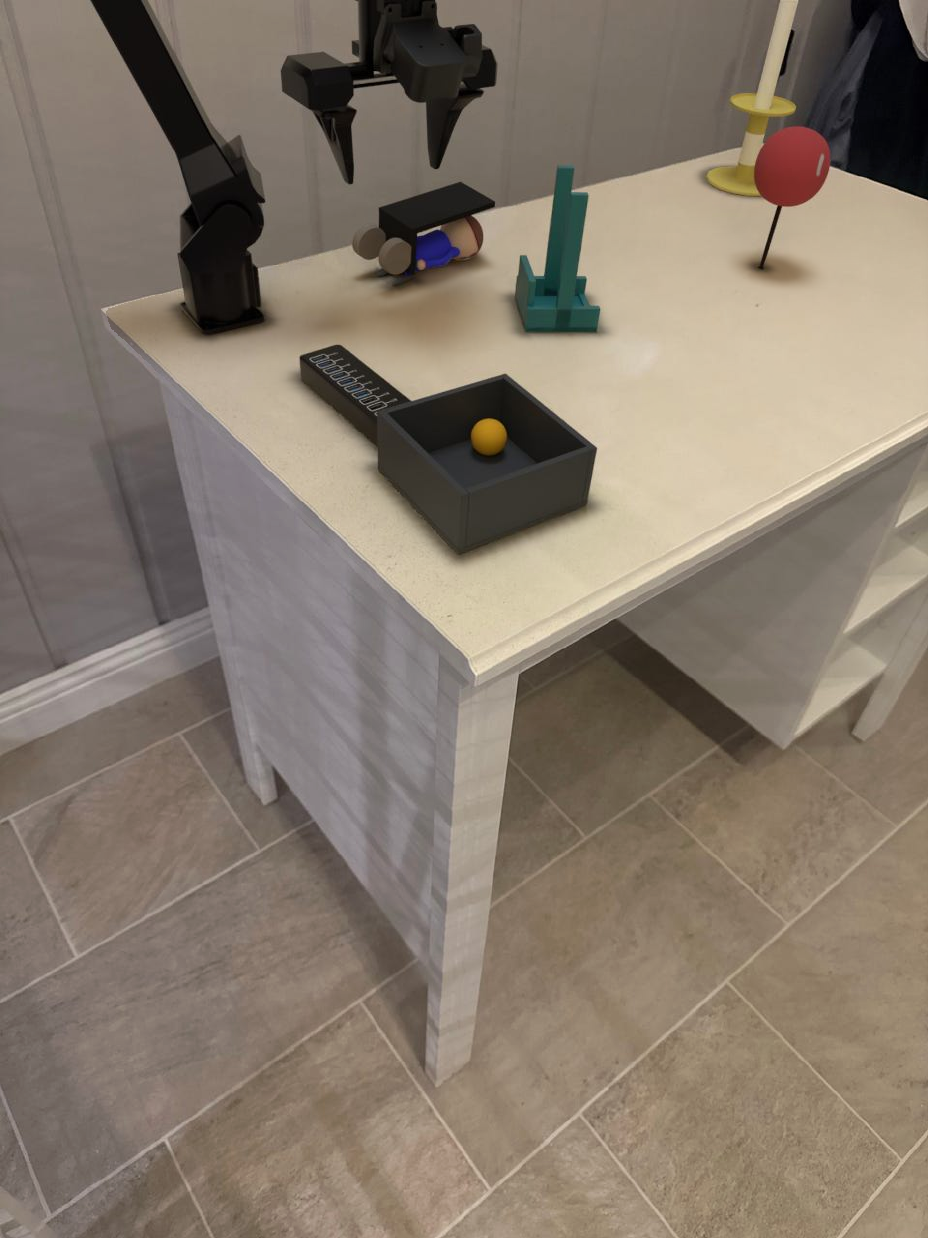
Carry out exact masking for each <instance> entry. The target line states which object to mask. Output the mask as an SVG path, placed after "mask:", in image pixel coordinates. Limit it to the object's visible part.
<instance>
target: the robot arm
mask: <svg viewBox="0 0 928 1238" xmlns="http://www.w3.org/2000/svg"><path fill="white" fill-rule="evenodd" d="M89 1H90V3H91V4H92V6H93V8H94V10H95V11H96V13H97V15H98V17H99V19H100V21H101V23H102V24H103V26H104V27H105V30H106V32H107V33H108V35H109V37H110V39H111V41H112V42H113V44H114V46H115V47H116V49H117V51H118V53H119V55H120V56H121V58H122V60H123V62H124V63H125V66H126V67H127V69H128V70H129V73H130V74H131V77H132V78H133V80H134V82H135V83H136V85H137V86H138V90H140V92H141V94H142V96H143V98H144V99H145V101H146V103H147V105H148V107H149V108H150V110H151V112H152V114H153V116H154V117H155V119H156V121H157V123H158V125H159V126H160V128H161V130H162V132H163V134H164V136H165V137H166V139H167V142H169V145H170V146H171V149H172V150H173V152H174V154H175V156H176V159H177V163H178V166H179V169H180V172H181V175H182V179H183V182H184V185H185V188H186V191H187V195H188V198H189V201H190V203H189V204H188V205H187V206H186V208H185V209H184V210H183V211H182V212H181V214H180V215H179V252H177V253H176V255H177V261H178V267H179V273H180V279H181V284H182V290H183V297H184V301H182V302H180V304H179V306H180V310H181V311H182V312H183V313H184V315H186V316H187V318H189V320H190V321H191V322H192V323H193V324H194V325H195V326H196V328H197V329H198V330H199V331H200V333H201V334H203V335H211V334H215V333H218V332H223V331H228V330H232V329H236V328H240V327H244V326H249V325H253V324H258V323H262V322H264V321H266V316H265V313H263V312H262V310H261V309H260V308H261V307H262V305H263V303H262V302H263V301H262V294H261V283H260V275H259V267H258V266H256V264H254V262H253V256H252V252H250V250H248V248H250V247H251V246H253V245H254V244H256V242H257V241H258V240H259V239H260V237H261V235H262V233H263V230H264V226H265V217H264V210H263V205H262V204H265V203H266V197H265V191H264V186H263V179H262V174H261V172H260V171H259V170H258V169H257V168H255V166H254V164H253V163H252V162H251V161H250V159H249V156H248V154H247V151H246V146H245V143H244V141H243V138H242V136H241V134H237V135H236V136H235V137H233V138H232V139H230V140H229V141H227V140H226V139H225V138H224V136H222V134H221V133H220V132H219V131H218V129H216V127H215V126H214V124H213V123H212V122H211V120H210V119H209V116H208V114H207V112H206V110H205V109H204V107H203V105H202V103H201V101H200V99H199V97H198V95H197V93H196V91H195V89H194V87H193V85H192V83H191V81H190V79H189V77H188V76H187V73H186V72H185V70H184V67H183V66H182V64H181V62H180V59H179V58H178V56H177V54H176V51H175V50H174V48H173V46H172V44H171V43H170V40H169V38H168V37H167V35H166V33H165V30H164V29H163V27H162V24H161V22H160V21H159V19H158V17H157V15H156V13H155V12H154V9H153V7H152V5H151V4H150V1H149V0H89ZM355 1H356V2H357V24H358V29H357V30H358V39H355V40H354V39H353V40H351V55H353V56H355V57H357V58H358V61H353V62H345V63H344V62H342V61H340V60H339V59H338V58H336V57H333V56H332V55H330V54H328V52H325V51H316V52H307V53H299V54H289V55H287V56H286V57H285V60H284V62H283V64H282V67H281V68H280V80H281V91H282V93H284V94H285V95H287V96H288V97H290V98H291V99H292V100H294V101H295V102H297V103H298V104H300V105H302V106H303V107H304V108H306V109H307V110H309V111H311V112H312V114H313V116H314V117H315V119H316V121H317V123H318V125H319V127H320V128H321V130H322V132H323V134H324V136H325V139H326V141H327V143H328V146H329V148H330V150H331V153H332V155H333V158H334V160H335V162H336V165H337V167H338V170H339V171H340V174H341V176H342V179H343V181H344V182H345V183H346V184H348V185H353V184H354V176H355V175H354V174H355V161H354V160H355V159H354V146H353V131H352V129H353V128H352V125H353V122H354V119H355V117H356V115H357V113H358V110H357V109H356V108H354V107H353V106H351V105H349V103H350V102H351V100H352V99H353V97H354V96H355V89H362V88H370V87H378V86H386V85H393V84H399V85H400V86H401V87H402V88H403V90H404V91H403V92H404V94H405V96H406V97H407V98H408V99H409V100H411V102H415V103H419V104H423V103H425V114H426V140H427V141H426V142H427V144H426V145H427V155H428V161H429V166H430V168H432V169H433V170H439V169H440V167H441V164H442V163H443V159H444V156H445V154H446V151H447V148H448V145H449V143H450V140H451V139H452V135H453V133H454V129H455V127H456V125H457V123H458V120H459V118H460V116H461V114H462V112H463V111H464V109H465V108H466V107H468V106H469V105H470V103H472V102H473V101H475V100H476V99H480V98H482V97H483V96H484V93H485V90H484V89H485V88H495V86H496V85H497V79H498V65H499V64H498V61H497V58H496V55H495V53H494V51H493V49H492V48H490V47H488V46H486V45H484V44H483V33H482V31H480V29H479V28H478V27H477V25H476V24H474V23H470V24H458V25H455V26H454V27H452V26H445V27H442V26H441V25H440V22H439V19H438V4H437V1H436V0H355ZM375 72H376V73H375Z"/></svg>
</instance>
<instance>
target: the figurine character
mask: <svg viewBox="0 0 928 1238" xmlns="http://www.w3.org/2000/svg"><path fill="white" fill-rule="evenodd" d="M495 207H496V201H495V200H493V199H491V198H490V197H489V196H487V195H485V194H483V193H481V192H479V191H478V190H476V189H475V188H473V187H471V186H469V185H467V184H466V183H464V182H463V181H457V182H455V183H451V184H448V185H445V186H442V187H439V188H436V189H433V190H430V191H426V192H424V193H420V194H417V195H414V196H411V197H407V198H404V199H401V200H398V201H394V202H392V203H389V204H388V203H387V204H385V205H383V206H379V207H378V225H376V224H373V223H365V224H363V225H361V226H360V227H358V228H357V229H356V230H355V232H354V234H353V237H352V242H351V247H352V250H353V252H354V253H355V254H356V255H358V256H359V257H361V258H362V259H363V260H368V261H372V260H374V259H376V258H377V261H378V264H379V266H380V267H381V268H380V269H378V270H376V273H375V276H378V277H383V276H386V275H388V274H390V275H399V274H400V275H401V274H402V273H404V274H405V275H404V276H402V277H400V278H398V279H396V280H394V281H393V282H392V283H391V286H399V285H401V284H403V283H405V282H407V281H409V280H412V279H414V277H415V276H416V273H418V272H419V271H423V270H426V269H431V268H436V267H442V266H446V265H447V264H448V263H449V262H450V261H451V260H452V259H454V260H456V261H467V260H470V259H472V258H474V257H475V256H476V255H477V254H478V253H479V252H480V250H481V249H482V247H483V244H484V230H483V227H482V225H481V223H480V221H478V219H477V218H476V217H475V216H474V215H476V214H478V213H482V212H484V211H488V210H490V209H494V208H495ZM439 227H440V228H439ZM435 228H436V229H435ZM438 228H439V229H438ZM432 229H434V230H432ZM429 230H431V231H429ZM426 231H429V232H427V233H425V234H422V235H421V234H420V233H423V232H426ZM418 234H420V235H418Z"/></svg>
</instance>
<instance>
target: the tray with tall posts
mask: <svg viewBox="0 0 928 1238" xmlns="http://www.w3.org/2000/svg"><path fill="white" fill-rule="evenodd" d="M574 176H575V166H574V165H563V164H561V165H559V164H558V165H557V166H556V172H555V181H554V188H553V196H552V197H553V198H552V206H551V214H550V222H549V231H548V238H547V239H548V241H547V248H546V256H545V264H544V272H543V275H534V271H533V269H532V266H531V264H530V260H529V258H528V255H527V254H520V255H519V261H518V262H519V263H518V271H517V272H518V274H517V275H516V279H515V289H514V301H515V303H516V307H517V311H518V313H519V316H520V319H521V322H522V325H523V329H524V332H525V333H597V332H598V327H599V320H600V315H601V306H600V305H591V304H590V302H589V300H588V298H587V295H586V294H585V293H586V287H587V281H588V278H587V276H586V275H578V271H579V265H580V264H579V263H580V258H581V250H582V245H583V238H584V231H585V223H586V218H587V217H586V216H587V210H588V205H589V203H588V202H589V193H588V192H585V191H583V192H582V191H581V192H580V191H573V183H574Z"/></svg>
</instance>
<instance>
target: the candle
mask: <svg viewBox="0 0 928 1238" xmlns="http://www.w3.org/2000/svg"><path fill="white" fill-rule="evenodd" d="M798 4H799V0H780V2H779V4H778V8H777V12H776V16H775V20H774V24H773V28H772V32H771V35H770V41H769V44H768V48H767V52H766V56H765V59H764V64H763V68H762V72H761V76H760V80H759V84H758V87H757V92H743V93H736V94H734V95H731V97H730V99H729V104H730V105H731V106H732V108H734V109H736V110H738V111H740V112H743V113H746V114H749V116H748V117H749V118H748V121H747V125H746V129H745V134H744V138H743V142H742V146H741V150H740V152H739V153H740V154H739V158H738V162H737V164H736V165H737V166H721V167H715V168H713V169H711V170H708V172H707V174H706V177H705V179H706V180H707V182H708V183H709V184H710V185H711V186H713V187H715V188H716V189H718V190H720V191H724V192H726V193H729V194H734V195H740V196H745V197H746V196H747V197H762V196H761V195H760V193H759V192H758V190H757V188H756V185H755V181H754V167H755V162H756V159H757V156H758V154H759V151H760V149H761V148H762V146H763V144H764V143H763V142H764V139H765V135H766V130H767V127H768V123H769V120H770V118H780V117H781V118H782V117H787V116H788V117H789V116H790V115H793V114H795V112H796V108H797V105H795V103H794V102H792V101H791V100H788V99H786V98H783V97H780V96H776V95H774V94H775V91H776V87H777V84H778V80H779V77H780V72H781V69H782V64H783V61H784V56H785V53H786V49H787V45H788V41H789V38H790V34H791V30H792V27H793V23H794V19H795V16H796V12H797V8H798Z"/></svg>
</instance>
